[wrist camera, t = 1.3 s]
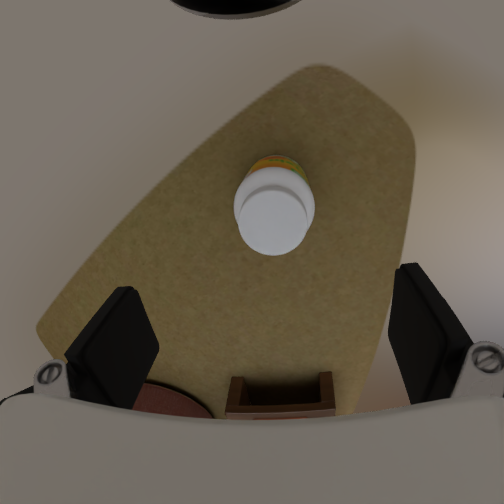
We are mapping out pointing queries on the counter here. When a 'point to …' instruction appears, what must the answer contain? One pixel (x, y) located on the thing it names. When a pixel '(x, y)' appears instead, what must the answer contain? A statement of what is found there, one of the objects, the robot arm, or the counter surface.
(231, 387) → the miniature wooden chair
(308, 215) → the supplement bottle
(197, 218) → the counter surface
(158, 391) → the planter
